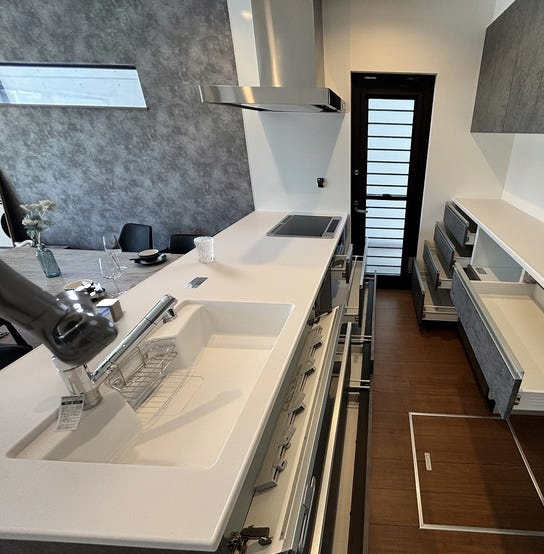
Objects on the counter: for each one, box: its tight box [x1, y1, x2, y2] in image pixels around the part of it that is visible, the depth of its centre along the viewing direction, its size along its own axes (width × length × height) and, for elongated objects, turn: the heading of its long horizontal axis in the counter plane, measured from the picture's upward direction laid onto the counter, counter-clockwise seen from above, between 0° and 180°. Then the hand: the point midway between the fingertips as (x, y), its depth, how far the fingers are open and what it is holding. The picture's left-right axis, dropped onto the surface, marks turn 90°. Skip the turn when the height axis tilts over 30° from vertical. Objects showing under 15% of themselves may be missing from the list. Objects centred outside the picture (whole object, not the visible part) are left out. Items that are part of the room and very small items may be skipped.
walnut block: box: [95, 298, 124, 323], centre depth 113 cm, size 5×5×7 cm
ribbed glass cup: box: [193, 236, 215, 264], centre depth 170 cm, size 10×9×13 cm
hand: (62, 289), depth 82 cm, fingers open, 8 cm apart
